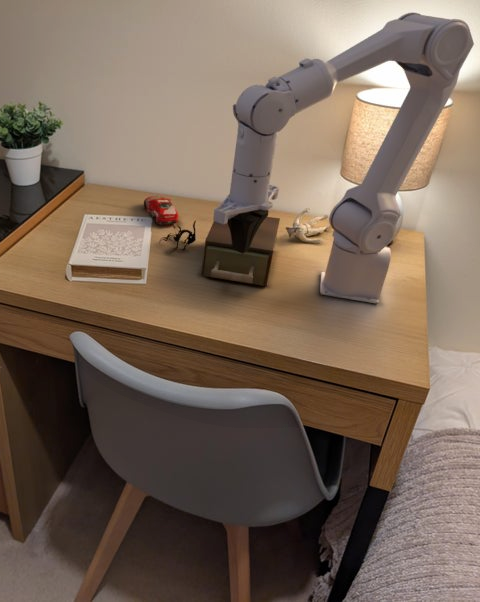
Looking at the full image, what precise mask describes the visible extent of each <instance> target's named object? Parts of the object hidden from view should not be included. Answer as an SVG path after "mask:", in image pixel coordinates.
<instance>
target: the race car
mask: <svg viewBox="0 0 480 602" xmlns="http://www.w3.org/2000/svg"><path fill="white" fill-rule="evenodd" d="M143 209H144V210H146V211H147V213H148V215H149V216H150V217H151V218H152V219H153V222H154V224H158V225H162V226H163V225H173V224H174V225H175V224H178V223H179V213H178V211H177V209H176V207H175V206H174V205H173V203H172V202H171V198H165V197H163V196H158V195H152V196H148V197H146V198H145V199H144V200H143Z"/></svg>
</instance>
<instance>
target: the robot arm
mask: <svg viewBox="0 0 480 602" xmlns="http://www.w3.org/2000/svg"><path fill="white" fill-rule="evenodd" d="M474 45H475V43H474V40H473V36H472V33H471V29H470V27H469V24H468V23H467V22H466V21H465V20H462V19H458V18H444V17H438V16H431V15H424V14H421V13H418V12H407V13H404V14H402V15H401V16H399V17H397V18H395V19H391V20H389V21H387V22H386V23H385V25H384V26H383V28H381V29H380V30H378V31H376V32H375V33H373V34H371V35H370V36H368V37H366V38H364V39H363V40H361V41H359V42H358V43H355V44H354V45H353V46H351V47H349V48H348V49H346V50H344V51H342V52H341V53H339V54H338V55H335V56H333V57H332V58H331V59H329V60H327V61H324V60H322V59H320V58H313V59H311V58H304V59H302V60H301V61H299V62H298V64H299V66H297V67H295V68H293V69H291V70H290V71H288V72H285V73H283V74H281V75H280V76H278V77H276V76H273V77H270V78H269V79H268V80H267V81H268V82H266V84H265V85H263V84H252V85H250V86H248V87H247V88H245V89H244V90H243V91H242V92H241V94H240V95H239V96H238V98H237V100H236V102H235V103H234V104H233V105H232V113H233V117H234V118H235V120H236V121H237V134H236V141H235V149H234V157H233V163H232V164H233V165H232V171H231V172H232V173H231V179H230V180H231V181H230V188H229V194H228V195H227V196H226V198H225V199H224V200H223V201H222V203H221V204H220V205H219V206H217V207H216V208H214V210H213V216H212V217H213V219H212V221H213V222H214V221H215V222H218V223H221V224H223V225H224V224H226V223H228V226H229V229H230V233H231V239H232V246H233V250H235V251H238V252H240V253H245V252H247V251H248V249H249V247H250V245H251V243H252V240H253V238H254V236H255V234H256V232H257V230H258V228H259V226H260V225H261V223H262V222H263V221H264V219H265V218H266V217H269V212H270V211H269V210H270V209H273V207H274V203H273V202H272V200H273V201H274V200H277V199H278V196H279V190H280V186H276V185H272V184H271V179H272V174H273V166H274V161H275V155H276V149H277V142H278V138H279V132H281V131H282V130H283V129H284V128H285V127H286V126H287V124H288V123H289V121H290V119H291V118H292V117H295V115H297V114H298V113H300V112H302V111H305V110H306V109H308V108H310V107H312V106H314V105H316V104H318V103H321V102H322V101H324V100H327V99H328V98H330V97H331V96H332V94H333V93H334V90H335V87H336V85H338V84H340V83H342V82H344V81H347V80H349V79H351V78H353V77H356V76H358V75H360V74H362V73H365V72H367V71H369V70H372V69H373V68H377V67H378V66H380V65H383V64H385V63H386V62H387V63H388V62H395V64H397V65H398V67H400V69H401V70H402V71H403V72H404V74H405V77H406V79H407V82H408V84H409V89H408V92H407V94H406V96H405V98H404V99H403V102H402V104H401V106H400V108H399V110H398V111H397V113H396V116H395V117H394V119H393V121H392V123H391V125H390V127H389V129H388V130H387V133H386V135H385V137H384V139H383V141H382V143H381V145H380V147H379V149H378V150H377V153H376V154H375V157H374V158H373V160H372V162H371V165H370V167H368V170H367V172H366V174H365V176H364V178H363V180H362V181H361V184H359V185H356V186H354V187H351V188H349V189H347V190H346V191H345V193H344V196H343V197H342V199H340V201H339V202H338V203H336V204H335V206H334V207H333V208H332V210H331V212H330V214H329V216H328V222H329V226H331V227H332V229H333V232H332V237H333V240H332V244H331V249H330V252H329V257H328V261H327V265H326V268H325V271H321V272H320V282H319V294H320V295H324V296H327V297H335V298H339V299H340V298H341V299H346V300H351V301H358V302H364V303H370V304H379V302H380V296H381V294H382V290H383V286H384V284H385V281H386V278H387V274H388V271H389V268H390V264H391V257H392V249H391V248H390V247H388V246H389V244H390V243H391V242H392V240H393V239H394V237H395V235H396V227H397V223H398V221H399V219H400V217H401V215H402V214H401V210H400V206H399V204H398V200H397V197H396V196H397V195H398V192H399V190H400V189H401V187H402V185H403V183H404V182H405V179H406V177H407V175H409V172H410V171H411V168H412V167H413V165H414V163H415V161H416V160H417V158H418V156H419V154H420V152H421V150H422V149H423V146H424V145H425V143H426V141H427V140H428V137H429V136H430V134H431V132H432V130H433V128H434V127H435V125H436V123H437V121H438V119H439V118H440V116H441V114H442V112H443V110H444V109H445V106H446V105H447V102H448V101H449V99H450V98H451V96H452V93H453V92H454V90H455V88H456V87H457V85H458V84H457V83H458V79H459V76H460V72H461V69H462V67H463V65H464V64H465V61H466V60H467V59H468V57H469V54H470V53H471V51H472V49H473V47H474Z"/></svg>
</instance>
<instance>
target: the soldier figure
mask: <svg viewBox="0 0 480 602" xmlns="http://www.w3.org/2000/svg"><path fill="white" fill-rule="evenodd" d="M310 210H311V207H307V208H305V209H304V210H302V211H301V212H300V213H299V214H298V215H297V216H296V217H295V218H294V221H293V223H292V226H291V227H288V226H286V227H285V230H286V233H287V235H288V237H289V239H290V238H291V237H292V236H294V235H296V237H297V239H299V240H301V241H303V242H304V243H309V244H315V243H318V244H321V243H323V242H324V239H323V238H316V239H315V238H308V237H311V236H314V235H318V234H323V233H325V231H328V230H329V231H330V230H332V229H333V228H332V227H331V226H330V225H326V226H325V225H324V226H323V227H321V226H320V227H316V228H313V227H314V225H316V224H317V223H318V222H319V221H325V220H327V219H328V218H329V214H324V215H322V216H318V217H317V216H315V217H314V218H310V220H308V222H300V220H301V219H302V218H303V216H304V215H305V214H306V213H309V211H310Z"/></svg>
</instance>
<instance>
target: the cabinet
mask: <svg viewBox="0 0 480 602" xmlns="http://www.w3.org/2000/svg"><path fill="white" fill-rule="evenodd" d="M280 221H281V218H280V217H273V216H267V217H266V218H265V219H264V221H263V222H262V223H261V225H260V226H259V228H258V230H257V232H256V234H255V236H254V238H253V240H252V243H251V245H250V247H249V249H248V250H249V251H255V252H262V253H267V254H268V255H269V257H268V262H267V268H266V273H265V279H264V284H263V285H258V284H252V283H247V284H249V285H253V286H260V287H267V286H268V281H269V276H270V273H271V267H272V262H273V258H274V252H275V248H276V241H277V236H278V232H279V226H280ZM212 245H215V246H222V247H229V248H233V246H232V239H231V233H230V229H229V226H228V223H226V224H224V225H223V224H221V223H218V222H215V221H213V222H212V224H211V227H210V229H209V230H208V233H207V236H206V238H205V241H204V248H203V257H202V265H201V273H200V276H201V277H205V278H206V277H207V278H212V279H216V278H215V277H210V276H204V268H205V260H206V251H207V247H208V246H212ZM217 279H218V280H222V279H221V278H217ZM223 280H224V281H228V280H227V279H223ZM229 281H230V282H231V281H232V282H234V281H233V280H229ZM235 283H240V282H239V281H235ZM241 283H243V284H246V283H245V282H241Z"/></svg>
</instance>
